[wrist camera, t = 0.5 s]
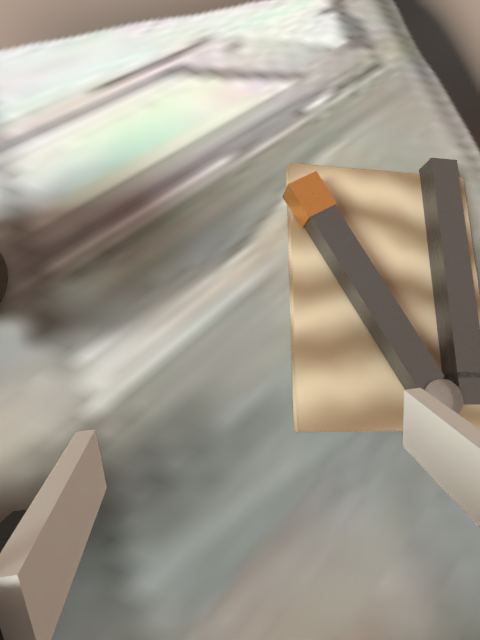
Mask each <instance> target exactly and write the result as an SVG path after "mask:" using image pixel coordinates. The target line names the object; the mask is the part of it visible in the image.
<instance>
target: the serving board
mask: <svg viewBox="0 0 480 640" xmlns="http://www.w3.org/2000/svg"><path fill="white" fill-rule="evenodd" d="M315 171H317V173H318V174H319V176H320V177H321V179H322V181H323V182H324V184H325V185H326V187H327V188H328V190H329V191H330V193H331V195H332V196H333V198H334V199H335V201H336V202H337V204H336V207H337V208H338V210H339V212H340V213H341V215H342V216H343V218H344V219H345V221H346V222H347V224H348V226H349V227H350V229H351V230H352V232H353V233H354V235H355V237H356V238H357V240H358V241H359V243H360V244H361V246H362V248H363V249H364V251H365V252H366V254H367V255H368V257H369V258H370V260H371V262H372V263H373V265H374V266H375V268H376V269H377V271H378V273H379V274H380V276H381V277H382V279H383V280H384V282H385V284H386V285H387V287H388V288H389V290H390V291H391V293H392V294H393V296H394V298H395V299H396V301H397V302H398V304H399V305H400V307H401V309H402V310H403V312H404V313H405V315H406V316H407V318H408V319H409V321H410V323H411V324H412V326H413V327H414V329H415V330H416V332H417V334H418V335H419V337H420V338H421V340H422V341H423V343H424V345H425V346H426V348H427V349H428V351H429V352H430V354H431V355H432V357H433V359H434V360H435V362H436V363H437V365H438V366H439V368H440V370H441V371H442V367H441V358H440V350H439V341H438V332H437V323H436V314H435V306H434V297H433V288H432V279H431V270H430V261H429V253H428V244H427V235H426V226H425V217H424V209H423V200H422V191H421V182H420V174H414V173H402V172H390V171H378V170H366V169H354V168H342V167H330V166H318V165H306V164H294V163H290V164H289V167H288V169H287V171H286V174H287V186H288V184H289V183H291V182H293V181H296V180H298V179H300V178H302V177H304V176H306V175H308V174H311V173H313V172H315ZM459 180H460V187H461V195H462V202H463V209H464V216H465V224H466V231H467V238H468V245H469V253H470V260H471V267H472V274H473V281H474V289H475V296H476V303H477V310H478V318H479V325H480V294H479V287H478V279H477V272H476V265H475V258H474V251H473V244H472V237H471V230H470V223H469V216H468V208H467V201H466V194H465V187H464V180H463V178H462V177H459ZM287 208H288V243H289V278H290V312H291V347H292V382H293V416H294V431H296V432H358V431H403V415H404V390H405V389H404V387H403V386H402V384H401V382H400V381H399V379H398V378H397V376H396V374H395V373H394V371H393V370H392V368H391V366H390V365H389V363H388V362H387V360H386V358H385V357H384V355H383V354H382V352H381V350H380V349H379V347H378V345H377V344H376V342H375V341H374V339H373V337H372V336H371V334H370V333H369V331H368V329H367V328H366V326H365V325H364V323H363V321H362V320H361V318H360V317H359V315H358V313H357V312H356V310H355V308H354V307H353V305H352V304H351V302H350V300H349V299H348V297H347V296H346V294H345V292H344V291H343V289H342V288H341V286H340V284H339V283H338V281H337V279H336V278H335V276H334V275H333V273H332V271H331V270H330V268H329V267H328V265H327V263H326V262H325V260H324V259H323V257H322V255H321V254H320V252H319V251H318V249H317V247H316V246H315V244H314V242H313V241H312V239H311V238H310V236H309V234H308V233H307V231H306V230H305V228H302V227H301V226H300V224H299V223H298V221H297V219H296V218H295V216H294V214H293V213H292V211H291V210H290V208H289V206H288V205H287ZM442 379H443V378H442ZM459 415H460V416H461V417H463V418H464V419H466V420H467V421H468V422H470V423H471V424H473V425H474V426H476V427H477V428H478V429H480V405H463V407H462V410H461V412H460V413H459Z"/></svg>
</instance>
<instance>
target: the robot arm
mask: <svg viewBox="0 0 480 640" xmlns="http://www.w3.org/2000/svg"><path fill="white" fill-rule="evenodd" d="M403 447H404V448H405V449H406V450H407V451H408V452H409V453H410V454H411V455H412V456H413V457H414V458H415V460H416V461H417V462H418V463H419V464H420V465H421V466H422V467H423V468H424V469H425V470H426V471H427V472H428V473H429V474H430V475H431V477H432V478H433V479H434V480H435V481H436V482H437V483H438V484H439V485H440V486H441V487H442V488H443V489H444V490H445V491H446V492H447V493H448V495H449V496H450V497H451V498H452V499H453V500H454V501H455V502H456V503H457V504H458V505H459V506H460V507H461V508H462V509H463V510H464V512H465V513H466V514H467V515H468V516H469V517H470V518H471V519H472V520H473V521H474V522H475V523H476V524H477V525H478V526H479V527H480V429H478V428H477V427H476V426H474V425H473V424H471V423H470V422H468V421H467V420H466V419H464V418H463V417H461V416H460V415H459V414H457V413H456V412H454V411H453V410H452V409H450V408H449V407H447V406H446V405H445V404H443V403H442V402H440V401H439V400H437V399H436V398H435V397H433V396H432V395H430V394H429V393H428V392H426V391H425V390H423V389H422V388H415V389H407V390H404V415H403ZM106 489H107V486H106V481H105V476H104V471H103V466H102V461H101V456H100V451H99V446H98V441H97V436H96V431H95V430H87V431H79V432H76V433H75V434H74V436H73V437H72V439H71V441H70V442H69V444H68V445H67V447H66V449H65V450H64V452H63V453H62V455H61V457H60V458H59V460H58V461H57V463H56V465H55V466H54V468H53V469H52V471H51V473H50V474H49V476H48V477H47V479H46V481H45V482H44V484H43V485H42V487H41V489H40V490H39V492H38V493H37V495H36V497H35V498H34V500H33V501H32V503H31V505H30V506H29V508H28V509H27V510H21V511H14V512H12V513H11V514H10V515H9V516H8V517H7V518H5V519H4V520H3V521H2V522H1V523H0V640H51V639H52V636H53V633H54V630H55V628H56V625H57V622H58V619H59V617H60V614H61V611H62V609H63V606H64V603H65V600H66V598H67V595H68V592H69V590H70V587H71V584H72V581H73V579H74V576H75V573H76V570H77V568H78V565H79V562H80V560H81V557H82V554H83V551H84V549H85V546H86V543H87V540H88V538H89V535H90V532H91V530H92V527H93V524H94V521H95V519H96V516H97V513H98V511H99V508H100V505H101V502H102V500H103V497H104V494H105V491H106Z"/></svg>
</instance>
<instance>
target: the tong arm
mask: <svg viewBox="0 0 480 640" xmlns="http://www.w3.org/2000/svg"><path fill="white" fill-rule="evenodd" d="M283 198H284V200H285V202H286V203H287V205H288V206H289V208H290V210H291V211H292V213H293V214H294V216H295V218H296V219H297V221H298V223H299V224H300V226H301V227H302V228H305V230H306V231H307V233H308V234H309V236H310V238H311V239H312V241H313V242H314V244H315V246H316V247H317V249H318V251H319V252H320V254H321V255H322V257H323V259H324V260H325V262H326V263H327V265H328V267H329V268H330V270H331V271H332V273H333V275H334V276H335V278H336V279H337V281H338V283H339V284H340V286H341V288H342V289H343V291H344V292H345V294H346V296H347V297H348V299H349V300H350V302H351V304H352V305H353V307H354V308H355V310H356V312H357V313H358V315H359V317H360V318H361V320H362V321H363V323H364V325H365V326H366V328H367V329H368V331H369V333H370V334H371V336H372V337H373V339H374V341H375V342H376V344H377V345H378V347H379V349H380V350H381V352H382V354H383V355H384V357H385V358H386V360H387V362H388V363H389V365H390V366H391V368H392V370H393V371H394V373H395V374H396V376H397V378H398V379H399V381H400V382H401V384H402V386H403V387H404V389H405V390H407V389H415V388H422V389H423V390H425V391H426V392H428V393H429V394H430V395H432V396H433V397H435V398H436V399H437V400H439V401H440V402H442V403H443V404H445V405H446V406H447V407H449V408H450V409H452V410H453V411H454V412H456V413H457V414H459V413H460V412H461V410H462V407H463V396H462V393H461V391H460V389H459V388H458V386H457V385H456V384H454V383H453V382H452V381H450V380H446V379H442V378H444V377H445V376H444V374H443V373H442V371H441V370H440V368H439V366H438V365H437V363H436V362H435V360H434V359H433V357H432V355H431V354H430V352H429V351H428V349H427V348H426V346H425V345H424V343H423V341H422V340H421V338H420V337H419V335H418V334H417V332H416V330H415V329H414V327H413V326H412V324H411V323H410V321H409V319H408V318H407V316H406V315H405V313H404V312H403V310H402V309H401V307H400V305H399V304H398V302H397V301H396V299H395V298H394V296H393V294H392V293H391V291H390V290H389V288H388V287H387V285H386V284H385V282H384V280H383V279H382V277H381V276H380V274H379V273H378V271H377V269H376V268H375V266H374V265H373V263H372V262H371V260H370V258H369V257H368V255H367V254H366V252H365V251H364V249H363V248H362V246H361V244H360V243H359V241H358V240H357V238H356V237H355V235H354V233H353V232H352V230H351V229H350V227H349V226H348V224H347V222H346V221H345V219H344V218H343V216H342V215H341V213H340V212H339V210H338V208H337V207H336V204H337V202H336V201H335V199H334V198H333V196H332V195H331V193H330V191H329V190H328V188H327V187H326V185H325V184H324V182H323V181H322V179H321V177H320V176H319V174H318V173H317V171H315V172H313V173H311V174H308V175H306V176H304V177H302V178H300V179H298V180H296V181H293V182H291V183H289V184H288V186H287V188H286V190H285V192H284V194H283Z"/></svg>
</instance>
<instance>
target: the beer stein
mask: <svg viewBox="0 0 480 640" xmlns="http://www.w3.org/2000/svg"><path fill="white" fill-rule="evenodd" d="M6 283H7V269H6V265H5V262H4V260H3V257H2V255H1V253H0V301H1V299H2V297H3V295H4V293H5V288H6Z"/></svg>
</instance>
